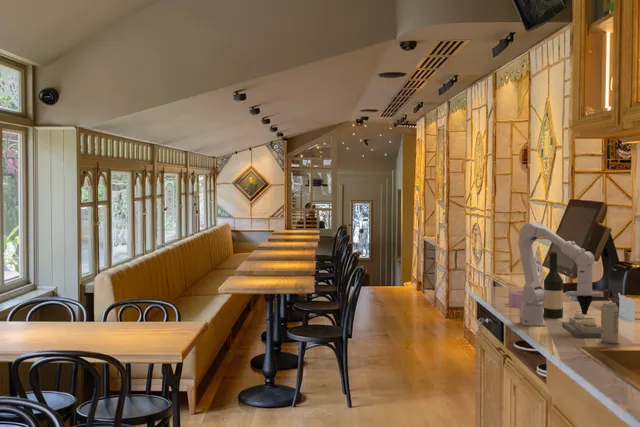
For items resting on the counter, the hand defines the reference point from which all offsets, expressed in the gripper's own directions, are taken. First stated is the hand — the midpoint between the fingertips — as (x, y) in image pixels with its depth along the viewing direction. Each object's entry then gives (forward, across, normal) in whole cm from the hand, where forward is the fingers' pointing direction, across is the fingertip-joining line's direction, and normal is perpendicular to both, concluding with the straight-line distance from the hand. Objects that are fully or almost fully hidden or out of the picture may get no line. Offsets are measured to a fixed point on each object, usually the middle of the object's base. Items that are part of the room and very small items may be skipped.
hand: (584, 314), depth 275 cm
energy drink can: (+7, +4, -18) cm, 20 cm away
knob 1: (+3, 0, +7) cm, 8 cm away
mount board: (+7, 0, 0) cm, 7 cm away
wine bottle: (+8, -5, +30) cm, 31 cm away
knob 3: (+3, 0, -7) cm, 8 cm away
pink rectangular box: (+8, -10, +56) cm, 57 cm away
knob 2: (+5, 0, 0) cm, 5 cm away
